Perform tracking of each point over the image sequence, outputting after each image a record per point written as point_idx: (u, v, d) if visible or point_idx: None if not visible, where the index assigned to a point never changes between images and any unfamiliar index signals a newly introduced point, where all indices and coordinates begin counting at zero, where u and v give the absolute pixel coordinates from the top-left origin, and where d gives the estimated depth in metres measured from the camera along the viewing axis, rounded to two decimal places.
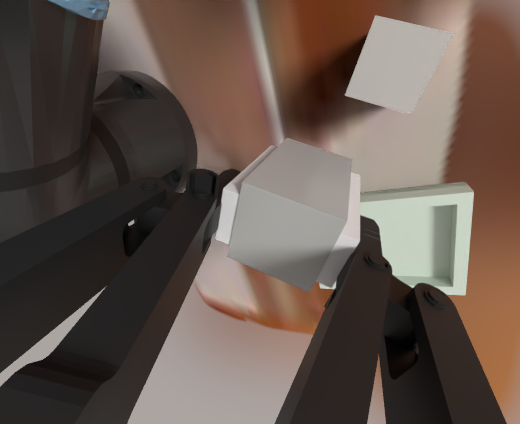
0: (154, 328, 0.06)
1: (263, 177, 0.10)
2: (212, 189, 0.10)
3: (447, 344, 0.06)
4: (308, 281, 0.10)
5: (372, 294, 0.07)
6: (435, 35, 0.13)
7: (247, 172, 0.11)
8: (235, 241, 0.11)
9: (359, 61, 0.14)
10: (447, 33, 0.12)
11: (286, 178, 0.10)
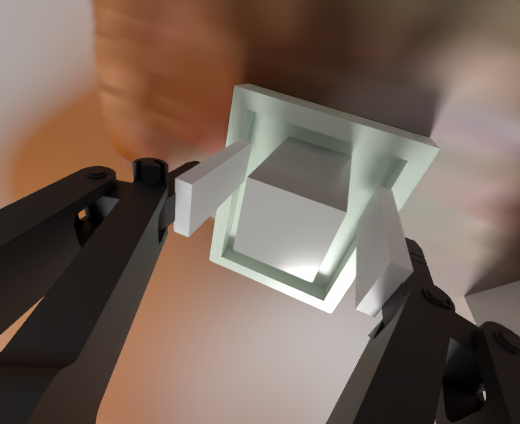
0: (114, 317, 0.06)
1: (267, 173, 0.10)
2: (162, 178, 0.09)
3: None
4: (310, 272, 0.11)
5: (431, 333, 0.06)
6: None
7: (206, 163, 0.11)
8: (240, 234, 0.11)
9: None
10: None
11: (289, 173, 0.11)
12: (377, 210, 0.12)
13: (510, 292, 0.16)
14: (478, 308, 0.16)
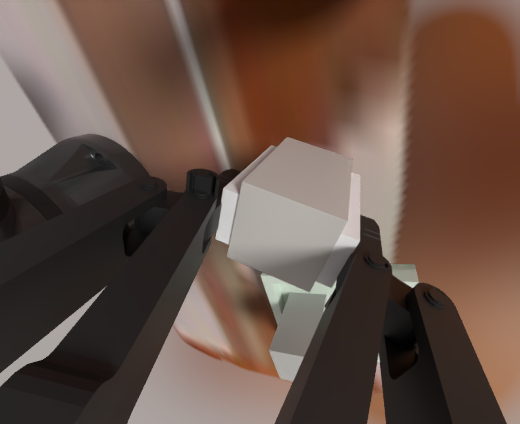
0: (154, 328, 0.06)
1: None
2: (212, 189, 0.10)
3: (447, 344, 0.06)
4: None
5: (372, 294, 0.07)
6: (323, 218, 0.09)
7: (247, 172, 0.11)
8: None
9: (235, 226, 0.10)
10: (338, 219, 0.09)
11: None
12: None
13: None
14: None
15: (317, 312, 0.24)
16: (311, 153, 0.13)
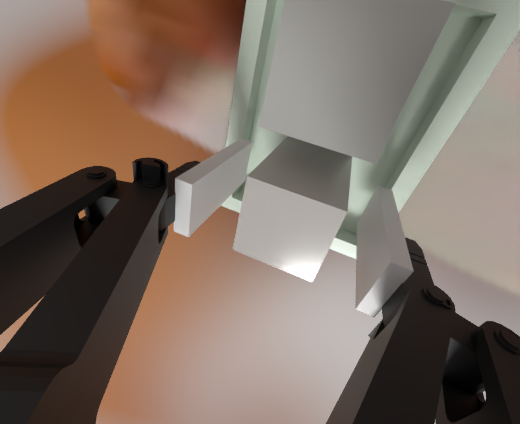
0: (114, 317, 0.06)
1: None
2: (162, 178, 0.09)
3: None
4: (375, 144, 0.08)
5: (431, 333, 0.06)
6: (324, 209, 0.09)
7: (206, 163, 0.11)
8: (272, 94, 0.08)
9: (240, 219, 0.11)
10: (338, 210, 0.09)
11: None
12: (377, 210, 0.12)
13: None
14: None
15: None
16: (312, 150, 0.14)
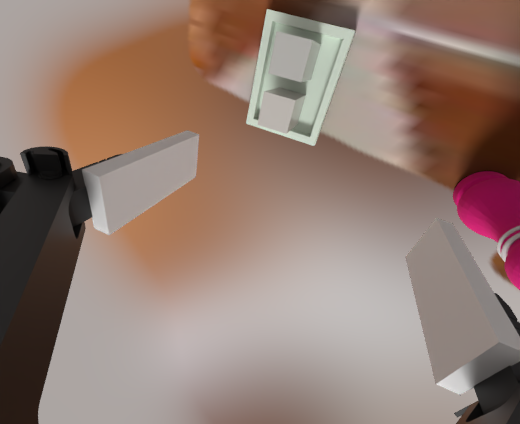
0: (34, 314, 0.05)
1: None
2: (64, 167, 0.09)
3: None
4: (300, 76, 0.27)
5: None
6: (288, 100, 0.29)
7: (130, 154, 0.10)
8: (272, 62, 0.28)
9: (261, 109, 0.31)
10: (293, 100, 0.29)
11: None
12: (444, 252, 0.10)
13: None
14: None
15: (309, 75, 0.31)
16: (288, 91, 0.34)
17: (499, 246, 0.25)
